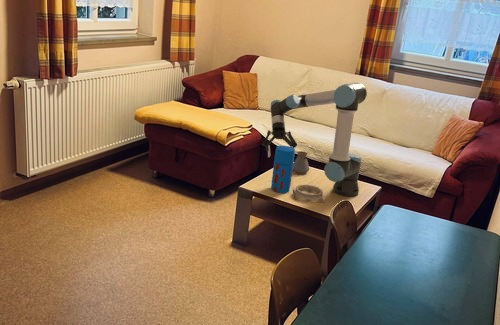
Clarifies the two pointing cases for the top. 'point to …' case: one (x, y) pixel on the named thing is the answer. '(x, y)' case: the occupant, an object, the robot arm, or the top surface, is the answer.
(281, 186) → the thermos
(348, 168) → the robot arm
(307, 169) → the coffee pot
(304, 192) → the thermos stand
